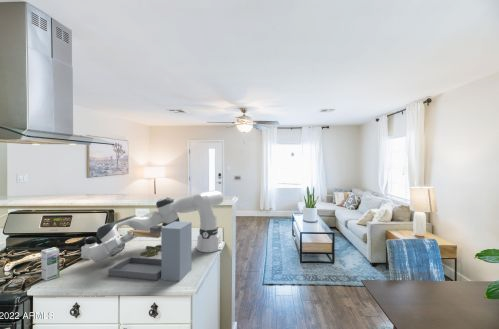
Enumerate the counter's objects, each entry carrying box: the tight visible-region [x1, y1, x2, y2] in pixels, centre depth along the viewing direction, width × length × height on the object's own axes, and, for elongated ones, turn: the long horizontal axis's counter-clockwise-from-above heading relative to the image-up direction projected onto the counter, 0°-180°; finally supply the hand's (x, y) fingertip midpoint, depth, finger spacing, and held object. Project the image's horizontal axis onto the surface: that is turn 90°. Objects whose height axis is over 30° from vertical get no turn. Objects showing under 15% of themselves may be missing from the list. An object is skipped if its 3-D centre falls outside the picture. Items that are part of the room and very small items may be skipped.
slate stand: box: [160, 221, 193, 282], centre depth 134 cm, size 14×10×26 cm
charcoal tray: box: [107, 256, 161, 282], centre depth 138 cm, size 18×27×4 cm, turn 79°
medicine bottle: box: [80, 236, 100, 260], centre depth 158 cm, size 7×7×12 cm
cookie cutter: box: [140, 244, 161, 258], centre depth 168 cm, size 18×12×2 cm, turn 6°
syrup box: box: [40, 246, 61, 282], centre depth 130 cm, size 6×6×14 cm
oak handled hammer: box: [126, 224, 163, 239], centre depth 138 cm, size 5×18×6 cm, turn 79°
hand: (135, 232), depth 139 cm, fingers closed on oak handled hammer, 3 cm apart
